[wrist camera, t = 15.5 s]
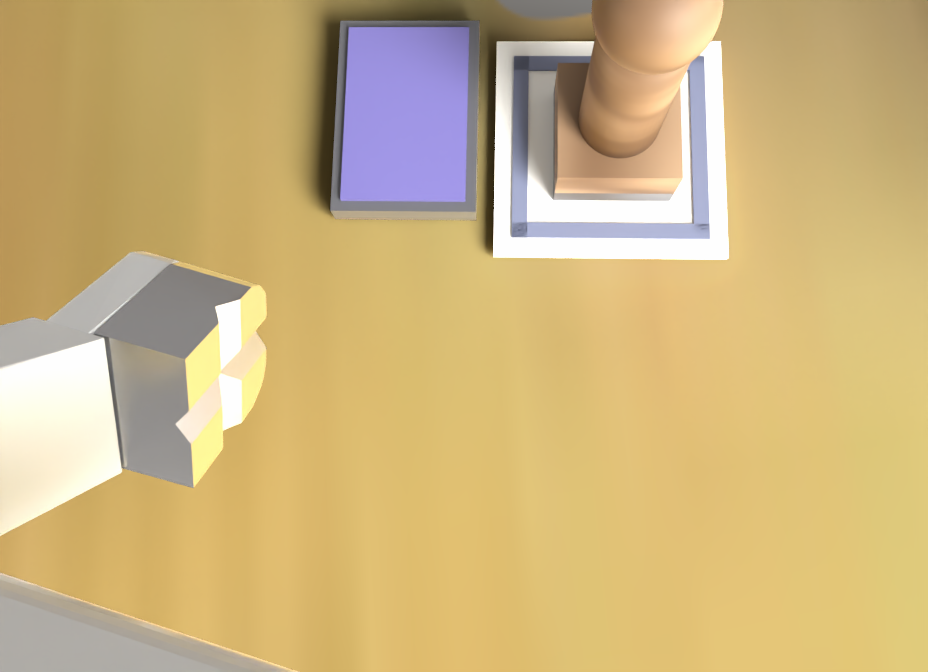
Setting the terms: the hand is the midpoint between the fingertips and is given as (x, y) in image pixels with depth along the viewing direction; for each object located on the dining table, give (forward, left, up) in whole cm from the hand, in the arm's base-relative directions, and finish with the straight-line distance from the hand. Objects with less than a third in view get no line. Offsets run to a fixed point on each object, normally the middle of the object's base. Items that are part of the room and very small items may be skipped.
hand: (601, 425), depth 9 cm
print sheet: (-3, -13, -22) cm, 26 cm away
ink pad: (+5, -14, -22) cm, 26 cm away
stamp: (-3, -13, -22) cm, 25 cm away
